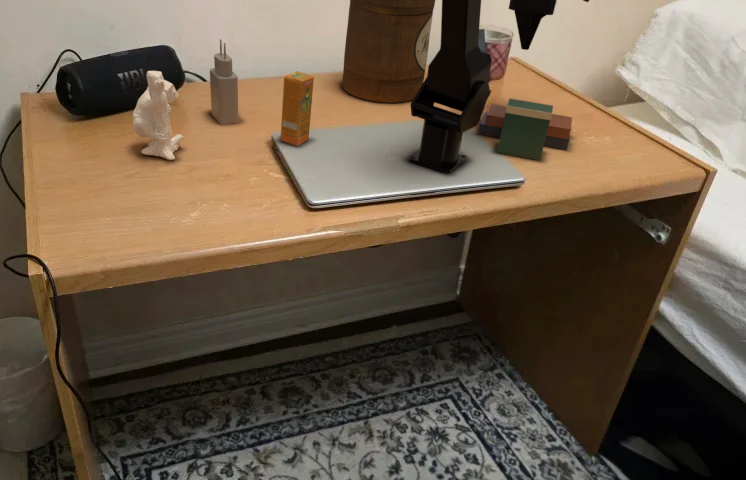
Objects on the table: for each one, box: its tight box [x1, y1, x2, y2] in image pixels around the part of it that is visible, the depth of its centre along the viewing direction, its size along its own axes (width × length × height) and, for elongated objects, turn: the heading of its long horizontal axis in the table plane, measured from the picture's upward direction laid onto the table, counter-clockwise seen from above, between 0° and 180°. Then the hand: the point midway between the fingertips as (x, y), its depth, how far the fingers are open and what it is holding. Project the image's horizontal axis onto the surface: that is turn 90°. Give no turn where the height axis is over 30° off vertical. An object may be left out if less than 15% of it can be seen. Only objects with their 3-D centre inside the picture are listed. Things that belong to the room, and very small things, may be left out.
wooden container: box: [341, 0, 436, 104], centre depth 116 cm, size 15×15×22 cm
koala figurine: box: [132, 70, 184, 161], centre depth 90 cm, size 8×7×12 cm
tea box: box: [496, 98, 554, 161], centre depth 100 cm, size 7×6×8 cm
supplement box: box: [280, 70, 315, 147], centre depth 97 cm, size 3×3×10 cm
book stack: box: [477, 103, 573, 151], centre depth 107 cm, size 6×14×4 cm, turn 72°
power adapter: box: [209, 38, 239, 125], centre depth 103 cm, size 3×5×12 cm, turn 26°
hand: (525, 49), depth 104 cm, fingers closed
